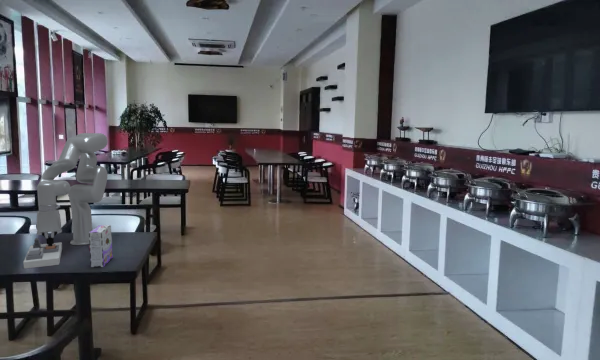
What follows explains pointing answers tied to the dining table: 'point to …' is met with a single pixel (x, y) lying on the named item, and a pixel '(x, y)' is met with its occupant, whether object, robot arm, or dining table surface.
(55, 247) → the terracotta button
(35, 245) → the dark slider
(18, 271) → the dining table surface
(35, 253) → the grey button
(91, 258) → the candy box
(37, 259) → the panel
